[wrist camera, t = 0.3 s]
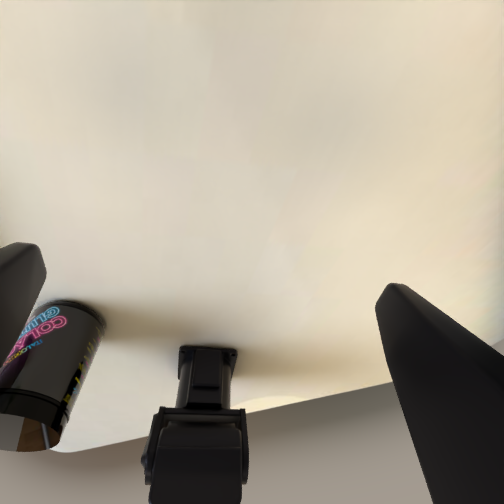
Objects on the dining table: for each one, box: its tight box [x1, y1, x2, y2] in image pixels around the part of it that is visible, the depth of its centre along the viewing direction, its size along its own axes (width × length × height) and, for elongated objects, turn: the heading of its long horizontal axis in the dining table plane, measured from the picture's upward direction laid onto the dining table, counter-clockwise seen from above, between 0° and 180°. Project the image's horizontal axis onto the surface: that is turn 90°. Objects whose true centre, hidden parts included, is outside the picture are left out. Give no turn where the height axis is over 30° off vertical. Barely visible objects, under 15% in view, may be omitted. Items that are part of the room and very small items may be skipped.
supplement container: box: [0, 301, 104, 452], centre depth 26 cm, size 7×7×10 cm
